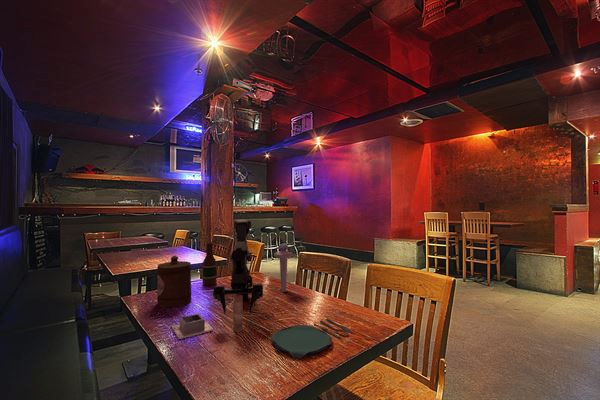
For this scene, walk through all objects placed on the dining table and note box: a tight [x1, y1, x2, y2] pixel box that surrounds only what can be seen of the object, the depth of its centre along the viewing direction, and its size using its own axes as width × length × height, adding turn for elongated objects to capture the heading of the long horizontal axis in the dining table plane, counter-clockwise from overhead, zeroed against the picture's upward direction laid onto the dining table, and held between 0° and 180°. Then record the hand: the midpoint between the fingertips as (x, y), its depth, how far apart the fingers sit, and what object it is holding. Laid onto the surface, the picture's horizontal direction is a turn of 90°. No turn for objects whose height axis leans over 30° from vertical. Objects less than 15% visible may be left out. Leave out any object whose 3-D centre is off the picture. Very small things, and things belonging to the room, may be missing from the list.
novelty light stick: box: [273, 243, 294, 293], centre depth 153 cm, size 10×10×25 cm
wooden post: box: [232, 294, 244, 332], centre depth 107 cm, size 4×4×12 cm
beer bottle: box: [202, 242, 218, 287], centre depth 166 cm, size 8×8×24 cm
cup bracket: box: [171, 313, 214, 340], centre depth 108 cm, size 12×12×4 cm
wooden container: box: [156, 255, 192, 308], centre depth 137 cm, size 15×15×22 cm
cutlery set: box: [270, 318, 356, 360], centre depth 100 cm, size 20×30×2 cm, turn 127°
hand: (237, 313), depth 106 cm, fingers open, 9 cm apart
